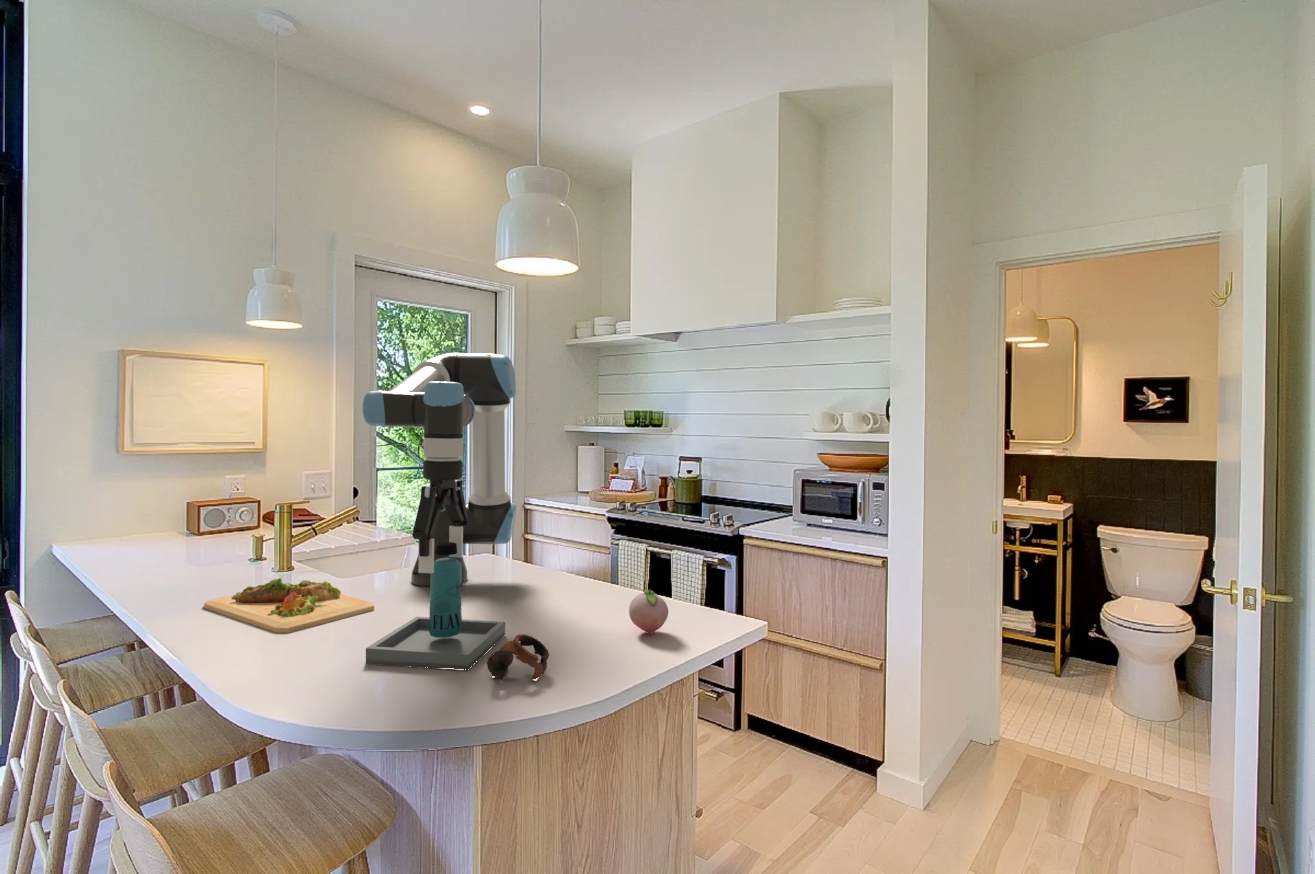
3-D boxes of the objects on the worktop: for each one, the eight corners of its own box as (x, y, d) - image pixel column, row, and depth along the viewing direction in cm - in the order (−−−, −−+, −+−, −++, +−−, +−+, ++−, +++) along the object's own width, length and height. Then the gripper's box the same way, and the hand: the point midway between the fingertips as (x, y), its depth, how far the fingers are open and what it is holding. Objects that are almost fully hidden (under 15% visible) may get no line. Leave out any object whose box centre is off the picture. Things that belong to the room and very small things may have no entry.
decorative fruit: (623, 628, 147) (624, 584, 147) (657, 625, 150) (658, 582, 149) (635, 642, 138) (637, 595, 138) (672, 639, 141) (673, 593, 141)
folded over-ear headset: (510, 664, 125) (532, 629, 125) (540, 698, 120) (563, 661, 120) (465, 668, 115) (489, 629, 115) (496, 705, 110) (521, 664, 110)
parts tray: (416, 630, 142) (416, 616, 142) (504, 635, 140) (505, 621, 140) (365, 664, 122) (365, 648, 122) (467, 671, 120) (468, 655, 120)
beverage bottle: (426, 646, 130) (428, 546, 129) (429, 635, 136) (431, 540, 136) (461, 644, 131) (462, 545, 131) (462, 633, 138) (463, 539, 137)
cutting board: (379, 611, 158) (379, 580, 157) (281, 637, 137) (282, 602, 137) (296, 588, 176) (297, 560, 175) (199, 609, 155) (199, 577, 155)
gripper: (451, 454, 143) (450, 550, 144) (393, 463, 118) (392, 579, 119) (484, 455, 142) (482, 552, 143) (432, 464, 118) (431, 581, 118)
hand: (441, 564), depth 131 cm, fingers open, 13 cm apart
